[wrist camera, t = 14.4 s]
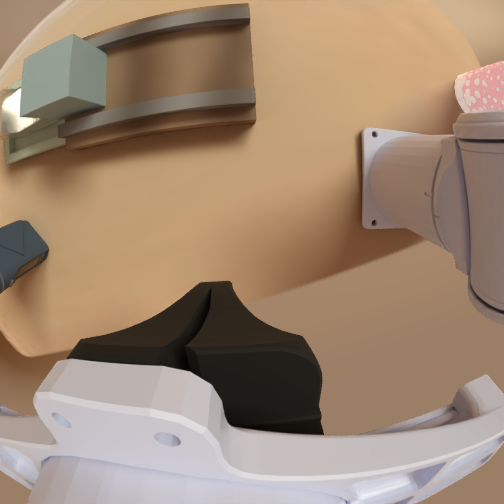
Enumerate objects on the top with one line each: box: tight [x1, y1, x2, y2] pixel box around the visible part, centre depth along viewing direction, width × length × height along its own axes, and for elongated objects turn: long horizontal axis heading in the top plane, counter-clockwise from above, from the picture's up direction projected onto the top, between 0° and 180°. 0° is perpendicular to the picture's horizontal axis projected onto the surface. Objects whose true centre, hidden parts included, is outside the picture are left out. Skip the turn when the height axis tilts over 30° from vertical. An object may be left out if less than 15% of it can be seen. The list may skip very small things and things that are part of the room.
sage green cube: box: [20, 34, 107, 120], centre depth 13 cm, size 4×4×5 cm
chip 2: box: [18, 88, 60, 132], centre depth 15 cm, size 4×4×2 cm
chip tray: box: [4, 79, 66, 165], centre depth 17 cm, size 9×8×1 cm
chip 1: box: [0, 89, 35, 141], centre depth 15 cm, size 4×4×2 cm
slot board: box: [58, 3, 256, 150], centre depth 16 cm, size 14×10×3 cm, turn 93°
